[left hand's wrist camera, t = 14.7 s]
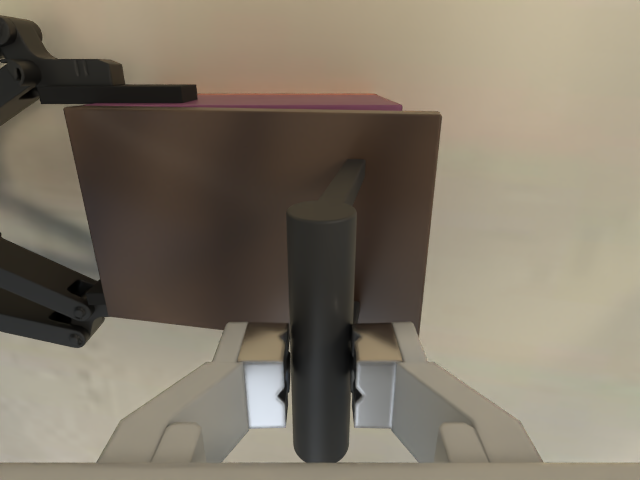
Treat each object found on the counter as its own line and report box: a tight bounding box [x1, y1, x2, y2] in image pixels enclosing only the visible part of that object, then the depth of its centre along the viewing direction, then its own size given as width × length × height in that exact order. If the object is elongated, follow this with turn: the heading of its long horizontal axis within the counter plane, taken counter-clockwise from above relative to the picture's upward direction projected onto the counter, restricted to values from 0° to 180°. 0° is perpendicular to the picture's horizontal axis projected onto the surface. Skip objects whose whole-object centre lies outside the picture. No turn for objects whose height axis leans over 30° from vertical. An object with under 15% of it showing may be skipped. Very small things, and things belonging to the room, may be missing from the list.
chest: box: [87, 94, 402, 111], centre depth 25 cm, size 14×10×9 cm
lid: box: [64, 105, 442, 463], centre depth 15 cm, size 15×10×9 cm, turn 90°
